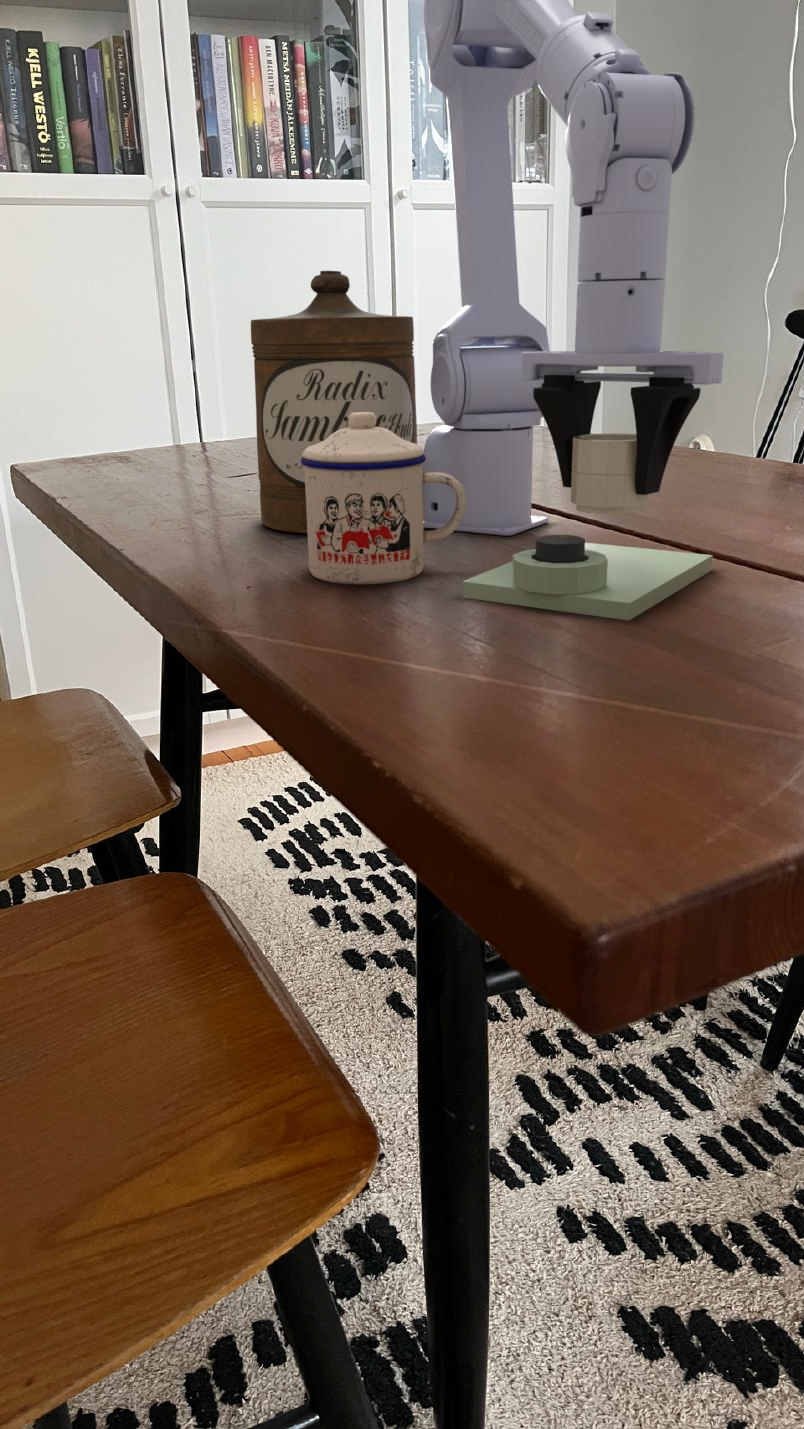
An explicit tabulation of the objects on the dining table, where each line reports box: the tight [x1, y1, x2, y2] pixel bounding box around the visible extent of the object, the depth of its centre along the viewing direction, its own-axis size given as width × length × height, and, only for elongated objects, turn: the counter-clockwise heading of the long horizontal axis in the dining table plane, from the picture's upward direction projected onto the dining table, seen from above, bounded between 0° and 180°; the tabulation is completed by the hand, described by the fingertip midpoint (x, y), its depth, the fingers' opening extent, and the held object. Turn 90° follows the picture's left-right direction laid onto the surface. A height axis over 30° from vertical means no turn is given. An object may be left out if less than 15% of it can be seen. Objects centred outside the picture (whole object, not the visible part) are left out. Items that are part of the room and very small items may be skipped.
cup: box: [570, 432, 651, 516], centre depth 74 cm, size 5×6×5 cm
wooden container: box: [250, 270, 418, 535], centre depth 97 cm, size 15×15×22 cm
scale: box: [461, 541, 714, 621], centre depth 74 cm, size 16×12×3 cm
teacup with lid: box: [301, 412, 466, 586], centre depth 78 cm, size 12×9×12 cm
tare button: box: [535, 534, 586, 563], centre depth 70 cm, size 3×3×2 cm
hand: (610, 489), depth 75 cm, fingers closed on cup, 5 cm apart
